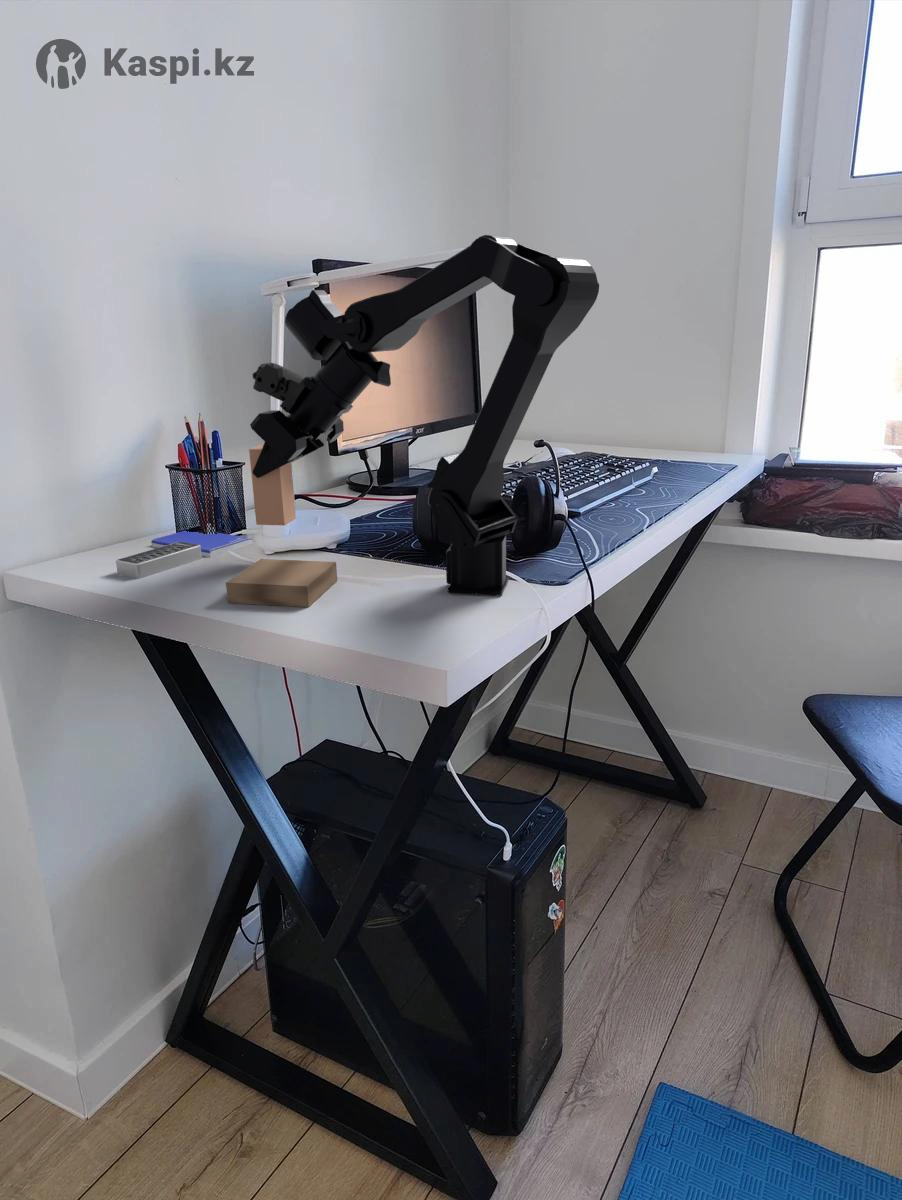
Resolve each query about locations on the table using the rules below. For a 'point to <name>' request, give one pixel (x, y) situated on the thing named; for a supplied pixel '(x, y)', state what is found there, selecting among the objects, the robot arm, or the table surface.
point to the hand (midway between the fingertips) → (262, 472)
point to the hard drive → (205, 542)
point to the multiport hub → (158, 560)
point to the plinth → (282, 582)
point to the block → (273, 493)
